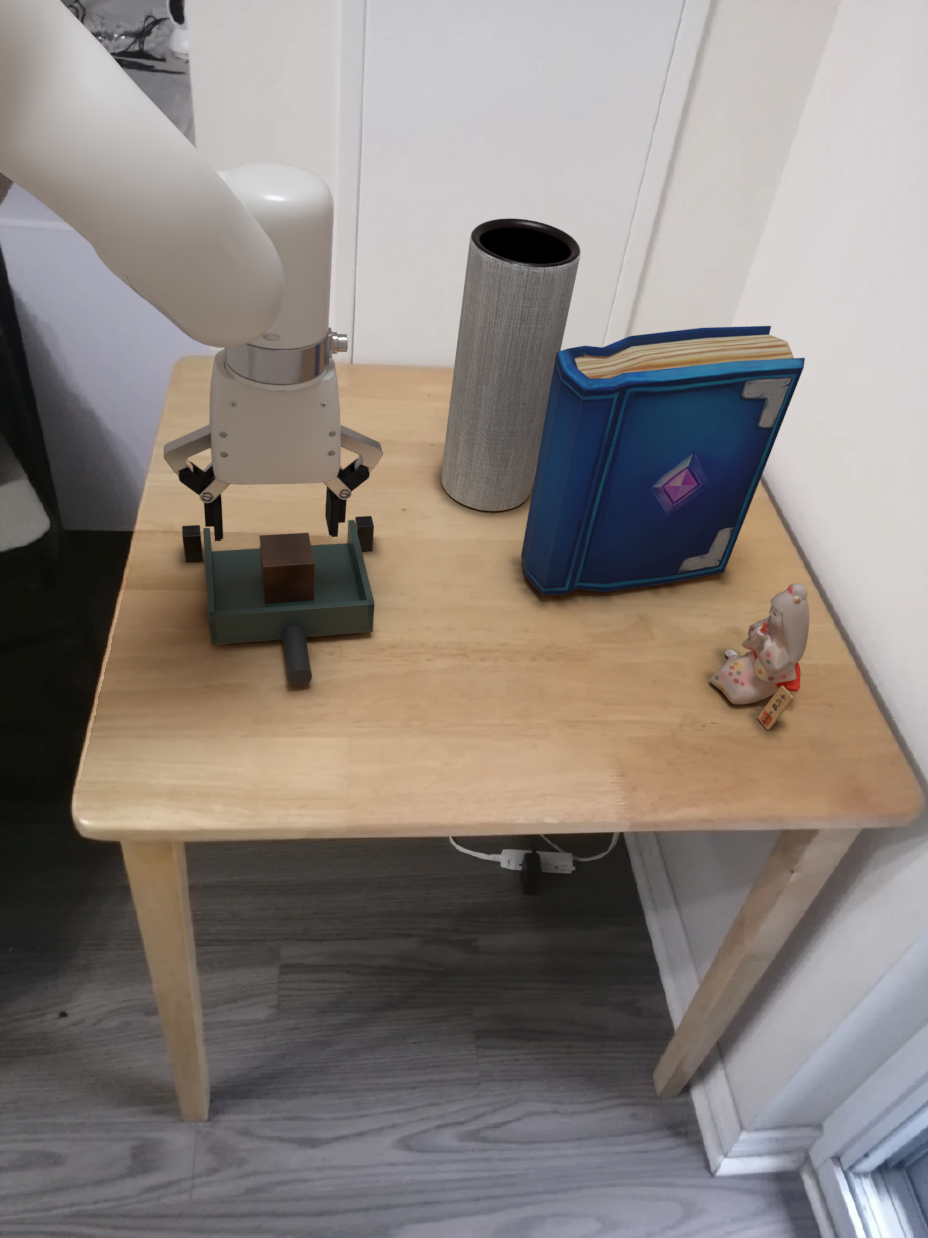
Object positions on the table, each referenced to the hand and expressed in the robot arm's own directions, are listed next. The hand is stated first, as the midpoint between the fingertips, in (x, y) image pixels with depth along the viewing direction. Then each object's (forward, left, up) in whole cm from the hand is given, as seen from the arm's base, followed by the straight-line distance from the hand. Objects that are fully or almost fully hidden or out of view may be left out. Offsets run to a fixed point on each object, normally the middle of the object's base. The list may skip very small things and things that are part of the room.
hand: (275, 528), depth 81 cm
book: (+34, 0, -8) cm, 35 cm away
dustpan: (+1, -3, -4) cm, 5 cm away
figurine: (+41, -17, -8) cm, 45 cm away
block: (+1, 0, -7) cm, 7 cm away
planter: (+24, +15, -8) cm, 29 cm away
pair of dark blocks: (+1, +6, -8) cm, 10 cm away
